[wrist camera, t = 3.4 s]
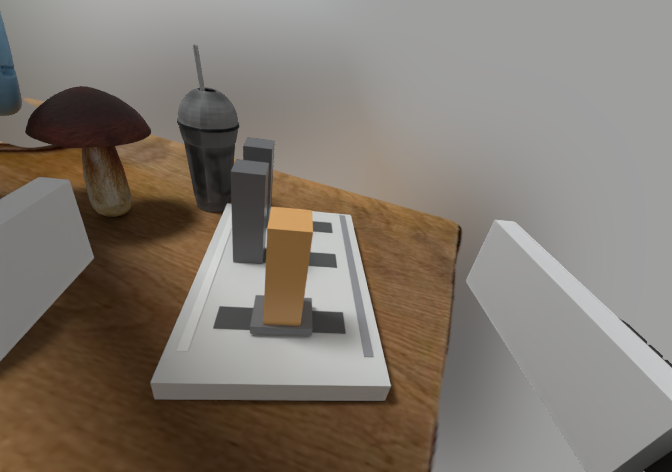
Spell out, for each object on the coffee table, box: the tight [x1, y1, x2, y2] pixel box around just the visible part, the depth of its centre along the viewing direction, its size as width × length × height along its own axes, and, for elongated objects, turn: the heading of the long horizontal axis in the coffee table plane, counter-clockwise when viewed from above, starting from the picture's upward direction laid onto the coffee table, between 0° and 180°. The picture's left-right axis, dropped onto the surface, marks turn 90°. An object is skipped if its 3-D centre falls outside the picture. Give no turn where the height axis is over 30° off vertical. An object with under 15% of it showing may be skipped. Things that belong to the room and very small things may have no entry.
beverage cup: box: [177, 45, 239, 212], centre depth 41 cm, size 7×7×20 cm
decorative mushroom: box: [25, 86, 151, 217], centre depth 37 cm, size 11×11×15 cm
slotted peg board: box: [150, 137, 391, 401], centre depth 32 cm, size 17×26×12 cm, turn 5°
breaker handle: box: [250, 207, 313, 336], centre depth 25 cm, size 5×4×10 cm
